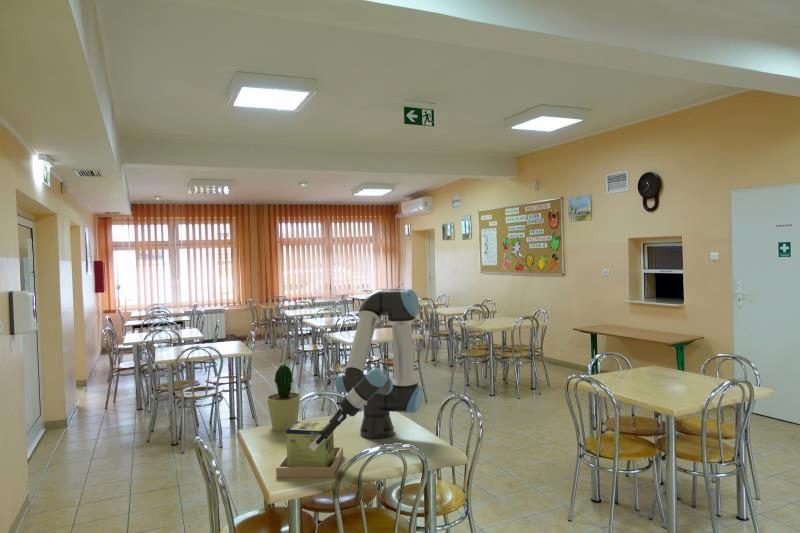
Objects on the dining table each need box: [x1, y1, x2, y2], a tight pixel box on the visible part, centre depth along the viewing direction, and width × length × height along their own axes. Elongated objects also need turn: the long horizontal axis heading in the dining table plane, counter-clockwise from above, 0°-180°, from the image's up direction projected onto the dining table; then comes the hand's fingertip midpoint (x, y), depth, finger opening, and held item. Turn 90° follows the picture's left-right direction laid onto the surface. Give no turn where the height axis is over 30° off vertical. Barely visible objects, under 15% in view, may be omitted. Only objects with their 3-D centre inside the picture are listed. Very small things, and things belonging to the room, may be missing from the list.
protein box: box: [285, 420, 335, 467], centre depth 207 cm, size 10×16×16 cm
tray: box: [275, 446, 344, 478], centre depth 207 cm, size 21×22×4 cm
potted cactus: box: [266, 364, 301, 432], centre depth 257 cm, size 15×15×30 cm
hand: (315, 442), depth 206 cm, fingers open, 13 cm apart
